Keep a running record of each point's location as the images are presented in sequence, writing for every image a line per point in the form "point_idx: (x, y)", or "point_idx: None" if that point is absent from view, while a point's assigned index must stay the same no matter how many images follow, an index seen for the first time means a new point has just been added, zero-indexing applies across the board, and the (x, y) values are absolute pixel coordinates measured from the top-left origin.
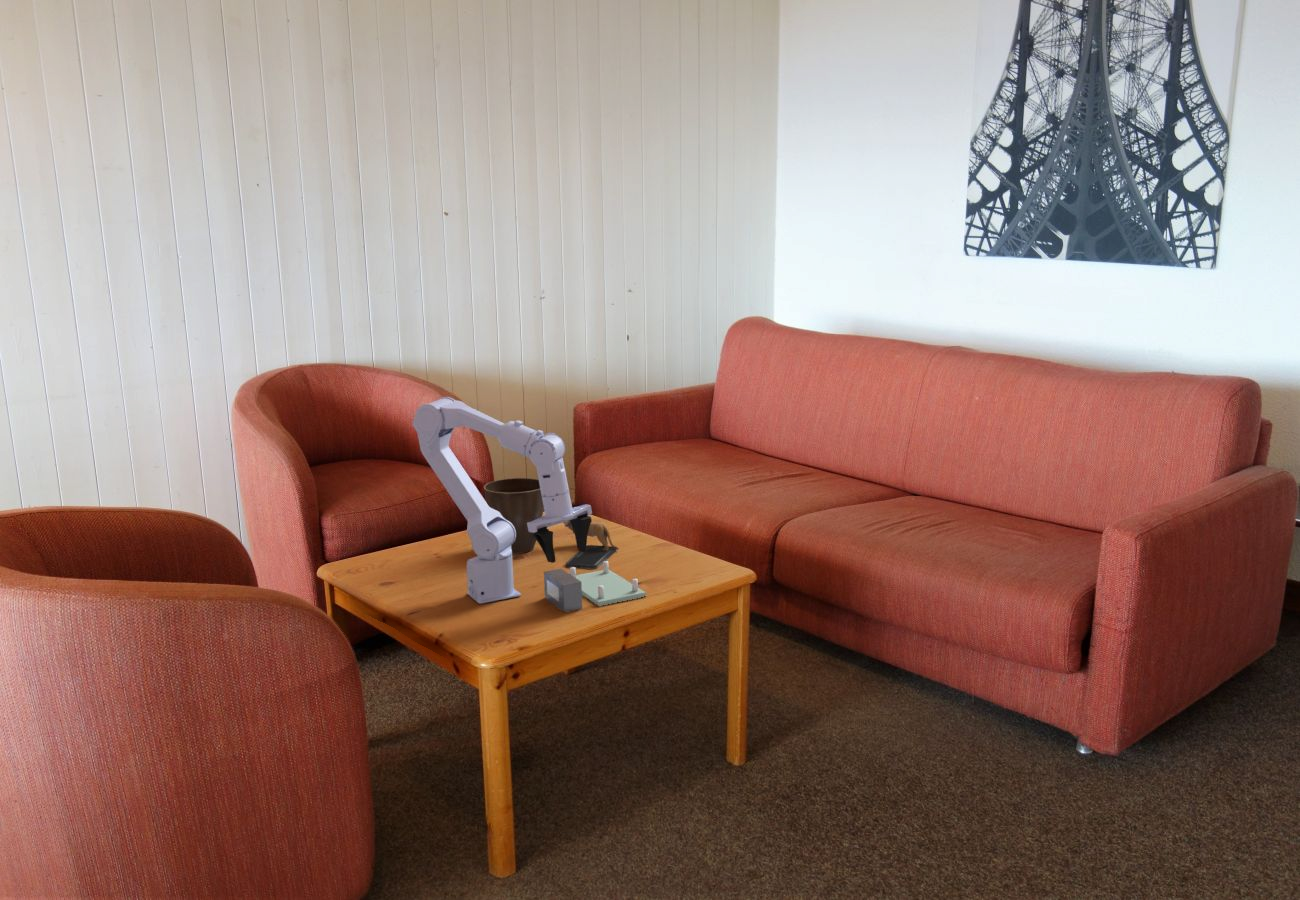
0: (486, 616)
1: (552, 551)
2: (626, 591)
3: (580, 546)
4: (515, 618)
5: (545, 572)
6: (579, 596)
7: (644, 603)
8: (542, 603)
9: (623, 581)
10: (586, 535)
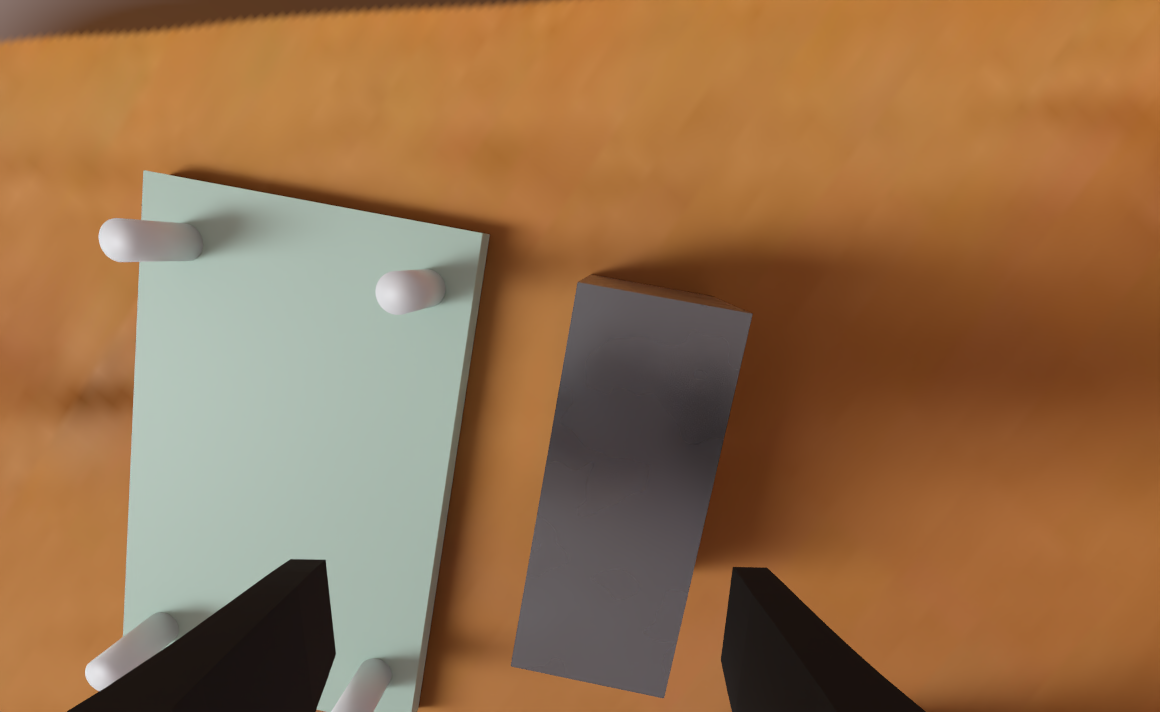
0: (1099, 563)
1: (824, 654)
2: (235, 271)
3: (301, 654)
4: (997, 418)
5: (665, 675)
6: (605, 280)
7: (235, 83)
8: (716, 514)
9: (156, 434)
10: (104, 700)
